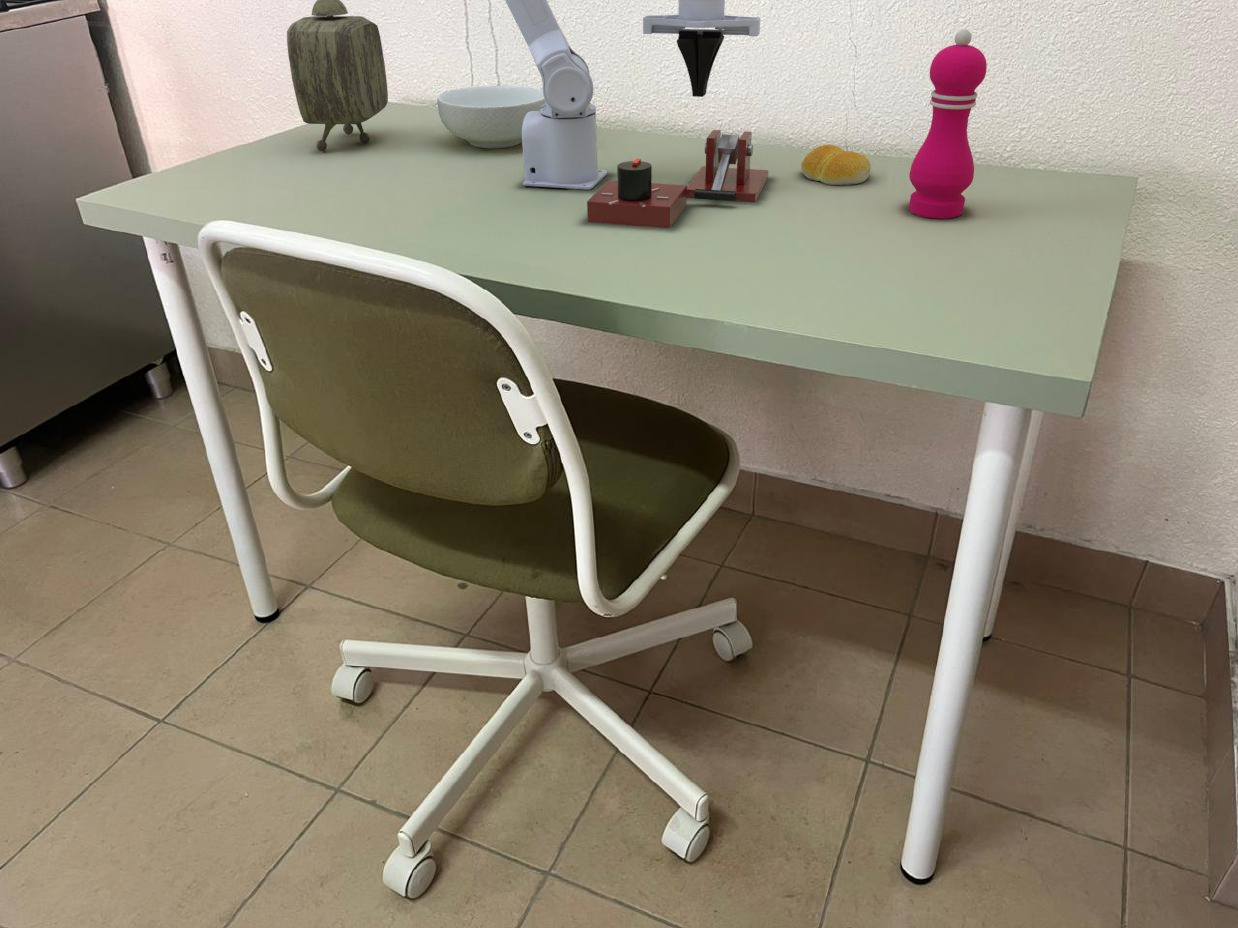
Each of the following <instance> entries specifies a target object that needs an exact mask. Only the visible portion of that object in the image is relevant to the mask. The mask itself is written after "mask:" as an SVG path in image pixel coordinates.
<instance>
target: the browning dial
mask: <svg viewBox="0 0 1238 928" xmlns="http://www.w3.org/2000/svg"><path fill="white" fill-rule="evenodd" d="M616 168H617V169H616V171H617V181H618V198H620V199H622V200H626V201H643V200H647V199H649V198H651V196H652V183H653V175H652V174H653V165H652V164H651V163H650V162H647V161H642V159H641V158H635V159H634V160H629V161H622V162H620V163H618V164H617V166H616Z"/></svg>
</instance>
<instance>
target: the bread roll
mask: <svg viewBox="0 0 1238 928" xmlns="http://www.w3.org/2000/svg"><path fill="white" fill-rule="evenodd" d="M800 162H801V163H800V169H801V172H802V174H803V176H805V177H806V179H809V180H812V181H815V182H819V181H820V182H821V183H822V184H825V185H830V186H851V185H858V184H861V183H864V182H865V181H866V180H868V178H869V177H870V173H871V171H872V170H871V169H872V168H871V163H870V160H869V158H868V157H867V156H866V155H864V154H862V153H858V152H857V151H851V150H844V149H843V148H841V147H840V146H838V145H833V144H823V145H820V146H817V147H815V148H814V149H812V150H810V152H808V153H807V154H806V155H805V156H804V157H803V158H802V160H801V161H800Z"/></svg>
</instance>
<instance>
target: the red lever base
mask: <svg viewBox="0 0 1238 928" xmlns="http://www.w3.org/2000/svg"><path fill="white" fill-rule="evenodd" d="M721 131H722V130H720V129H713V130H712V131H711V132H710V133H709V135H708V136H707V137H706V141H705V143H704V154H705V166H701V167H700V168H699V170H698V171H697V172H696V174H695V175H694V176H693V178H692V179H691V180H690V181H689V183H688V184H686V185H687V199H695V198H694V193H695V189H708V190H712V186H713V183H714V180H715V176H716V173H717V170H718V166H719V161H718V146H719V143H720V139H721V136H722V132H721ZM752 136H753V132H752V131H748V130H747V131H743V132H742V134H741V135H740V136H739V140H738V157H737V161H736V167H735V168H734V167H729V168H728V172H727V175H726V179H725V182H724V186H723V189H722V190H724V191H736V201H735V202H744V203H756V201H757V200H758V199H759V196H760V194H761V192H762V190H763V188H764V187H765V185H766V183H767V181H768V180H769V170H768V169H756V168H755V169H754V168H751V157H752V156H753V154H754V144H752Z"/></svg>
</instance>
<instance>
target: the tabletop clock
mask: <svg viewBox="0 0 1238 928" xmlns="http://www.w3.org/2000/svg"><path fill="white" fill-rule="evenodd" d="M348 13H349V11H348V9H347V7H346V6H345V4H344V2H343V1H341V0H316V1H315V2H314V3H313V5H312V9H311V16H304V17H302V18H299V19H298V20H296V21H294V22H293V23H291V24H290V25H289V27H288V29H287V31H286V44H287V45H286V46H287V55H288V62H289V68H290V75H291V81H292V85H293V89H294V95H295V99H296V103H297V107H298V110H299V113H300V116H301V119H302V122H303V123H305V124H308V125H324V129H323V134H322V138H321V139H319V140H318V139H317V141H316V143H315V148H316V149H317V150H318V151H319V152H325V151H326V150H327V148H328V143H327V142H326V140H327V138H328V136H329V135H330V132H331V130H332V129H333V128H334V127H335V126H336V125H343V127H342V131H343V133H344V134H346V135H351V134H353V132H354V126H353V125H356V127H357V129H358V132H359V133H360V134H359V135H358V136H359V137H358V139H359V142H360V143H361V144H368V143H369V142H370V140H371V139H370V138H371V137H370V135H369V134H368V133H367V132H365V131H364V128H363V125H362V123H365V122H367V121H368V120H369V119H372V118H373V117H375V116H376V115H378V114H379V113H380V112H381V111H383V110H384V109H385V108H386V107H387V104H388V102H389V96H388V95H389V90H388V89H389V88H388V81H387V73H386V64H385V57H384V51H383V44H382V38H381V33H380V30H379V26H378V25H377V24H376V23H375V22H373V21H371V20H369V18H366V17H365V16H361V15H348Z"/></svg>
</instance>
